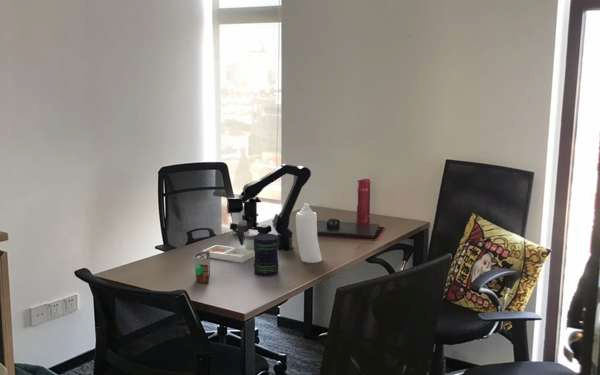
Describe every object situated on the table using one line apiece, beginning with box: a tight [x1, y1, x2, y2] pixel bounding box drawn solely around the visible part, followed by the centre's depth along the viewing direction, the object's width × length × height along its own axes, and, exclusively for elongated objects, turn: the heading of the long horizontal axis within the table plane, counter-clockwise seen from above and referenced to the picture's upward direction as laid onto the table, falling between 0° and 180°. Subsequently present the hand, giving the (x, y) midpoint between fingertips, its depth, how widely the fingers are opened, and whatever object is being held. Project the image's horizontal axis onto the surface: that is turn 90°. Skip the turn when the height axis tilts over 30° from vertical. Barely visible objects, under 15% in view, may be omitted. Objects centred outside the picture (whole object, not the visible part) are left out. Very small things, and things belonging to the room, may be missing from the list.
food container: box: [192, 250, 211, 285], centre depth 236 cm, size 12×6×10 cm, turn 5°
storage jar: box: [253, 233, 279, 278], centre depth 244 cm, size 10×10×15 cm
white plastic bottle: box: [295, 202, 323, 264], centre depth 260 cm, size 12×11×25 cm
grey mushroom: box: [244, 233, 256, 250], centre depth 277 cm, size 5×5×7 cm
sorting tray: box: [201, 244, 255, 264], centre depth 268 cm, size 20×11×2 cm, turn 64°
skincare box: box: [231, 203, 251, 236], centre depth 306 cm, size 8×6×15 cm
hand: (250, 246), depth 277 cm, fingers open, 9 cm apart
